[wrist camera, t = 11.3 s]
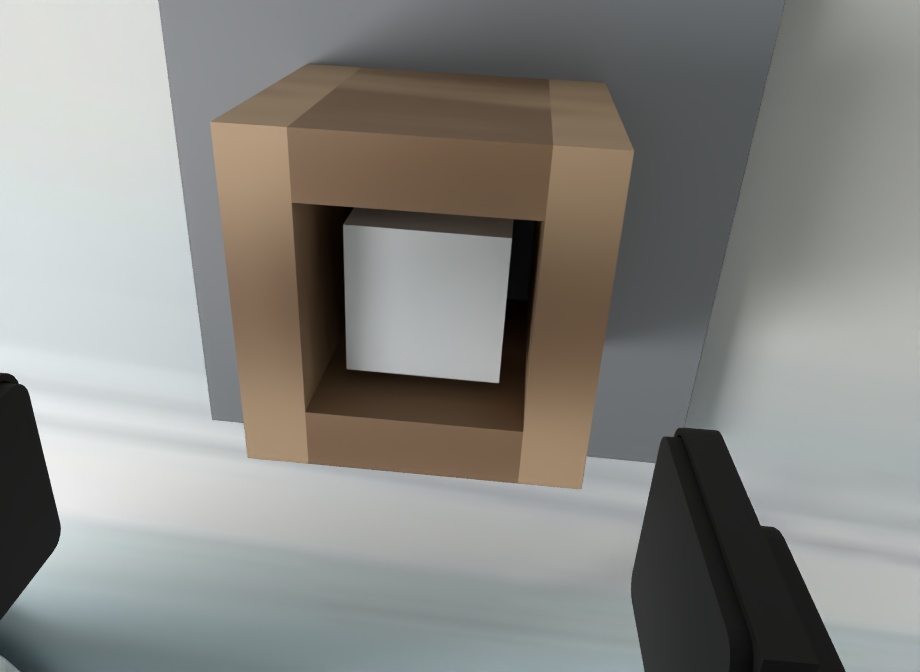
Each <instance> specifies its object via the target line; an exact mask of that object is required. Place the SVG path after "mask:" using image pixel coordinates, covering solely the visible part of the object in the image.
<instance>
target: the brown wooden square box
mask: <svg viewBox="0 0 920 672" xmlns="http://www.w3.org/2000/svg"><path fill="white" fill-rule="evenodd" d="M210 126H211V135H212V144H213V153H214V162H215V171H216V180H217V189H218V198H219V206H220V215H221V224H222V233H223V242H224V251H225V260H226V269H227V278H228V286H229V295H230V304H231V313H232V322H233V331H234V340H235V349H236V358H237V366H238V375H239V384H240V393H241V402H242V411H243V420H244V429H245V438H246V446H247V455H248V458H255V459H265V460H276V461H286V462H297V463H308V464H318V465H329V466H339V467H350V468H361V469H371V470H382V471H392V472H403V473H414V474H424V475H435V476H445V477H456V478H466V479H477V480H488V481H498V482H509V483H519V484H530V485H541V486H551V487H562V488H572V489H581V488H582V481H583V475H584V468H585V462H586V456H587V449H588V443H589V436H590V430H591V424H592V417H593V411H594V404H595V398H596V392H597V385H598V379H599V372H600V366H601V360H602V353H603V347H604V341H605V334H606V328H607V321H608V315H609V309H610V302H611V296H612V289H613V283H614V277H615V270H616V264H617V257H618V251H619V245H620V238H621V232H622V226H623V219H624V213H625V206H626V200H627V194H628V187H629V181H630V174H631V168H632V162H633V155H634V149H633V147H632V144H631V142H630V140H629V137H628V135H627V133H626V130H625V128H624V126H623V123H622V121H621V118H620V116H619V114H618V111H617V109H616V107H615V104H614V102H613V100H612V97H611V95H610V92H609V90H608V88H607V85H606V83H601V82H585V81H569V80H553V79H537V78H521V77H506V76H490V75H474V74H458V73H442V72H426V71H410V70H395V69H379V68H363V67H347V66H331V65H315V64H306V65H304V66H302V67H301V68H299V69H297V70H296V71H294V72H292V73H291V74H289V75H287V76H286V77H284V78H282V79H281V80H279V81H277V82H276V83H274V84H272V85H271V86H269V87H267V88H266V89H264V90H262V91H261V92H259V93H257V94H256V95H254V96H252V97H251V98H249V99H247V100H246V101H244V102H242V103H241V104H239V105H237V106H236V107H234V108H232V109H231V110H229V111H227V112H226V113H224V114H222V115H221V116H219V117H217V118H216V119H214V120H212V121H211V122H210ZM354 207H358V208H371V209H385V210H398V211H412V212H425V213H439V214H452V215H466V216H479V217H493V218H506V219H520V220H533V221H535V227H534V237H533V247H532V257H531V268H530V278H529V288H528V298H527V300H514V299H506V310H505V321H504V332H503V343H502V354H501V365H500V376H499V383H492V382H481V381H470V380H459V379H448V378H438V377H427V376H416V375H405V374H395V373H384V372H373V371H362V370H351V369H347V365H346V323H345V281H344V238H343V224H344V223H345V221H346V219H347V218H348V216H349V215H350V213H351V212H352V210H353V209H354Z"/></svg>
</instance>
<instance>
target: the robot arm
mask: <svg viewBox="0 0 920 672" xmlns="http://www.w3.org/2000/svg"><path fill="white" fill-rule="evenodd" d="M60 531H61V526H60V521H59V516H58V512H57V508H56V504H55V500H54V496H53V492H52V487H51V483H50V479H49V475H48V471H47V467H46V462H45V458H44V454H43V450H42V446H41V442H40V438H39V433H38V429H37V425H36V421H35V417H34V413H33V408H32V404H31V400H30V396H29V393H28V390H27V389H26V387H25V386H23V385H21V384H19V383H18V381H17V379H16V378H15V377H14V376H13V375H10V374H8V373H0V620H1V619H2V618H3V616H4V615H5V614H6V612H7V611H8V610H9V608H10V607H11V606H12V605H13V603H14V602H15V601H16V599H17V598H18V597H19V595H20V594H21V593H22V592H23V590H24V589H25V588H26V586H27V585H28V584H29V582H30V581H31V580H32V578H33V577H34V576H35V575H36V573H37V572H38V571H39V569H40V568H41V567H42V565H43V564H44V563H45V562H46V560H47V559H48V558H49V556H50V555H51V554H52V552H53V551H54V549H55V548H56V546H57V544H58V541H59V538H60ZM631 597H632V604H633V609H634V615H635V620H636V626H637V631H638V637H639V642H640V648H641V653H642V659H643V665H644V670H645V672H845V669H844V667H843V665H842V663H841V661H840V659H839V656H838V654H837V652H836V650H835V648H834V645H833V643H832V641H831V639H830V637H829V635H828V632H827V630H826V628H825V626H824V624H823V622H822V619H821V617H820V615H819V613H818V611H817V609H816V606H815V604H814V602H813V600H812V598H811V596H810V593H809V591H808V589H807V587H806V585H805V582H804V580H803V578H802V576H801V574H800V572H799V569H798V567H797V565H796V563H795V561H794V559H793V556H792V554H791V552H790V550H789V548H788V546H787V543H786V541H785V539H784V537H783V536H782V534H781V533H780V531H779V530H777V529H776V528H774V527H767V526H760V523H759V521H758V519H757V516H756V514H755V512H754V509H753V507H752V505H751V502H750V500H749V498H748V495H747V493H746V491H745V488H744V486H743V484H742V481H741V479H740V477H739V474H738V472H737V470H736V467H735V465H734V463H733V460H732V458H731V456H730V453H729V451H728V449H727V446H726V444H725V442H724V439H723V437H722V435H721V433H720V432H719V431H717V430H705V429H692V428H680V427H679V428H678V429H677V430H676V432H675V434H674V437H667V436H664V437H662V439H661V442H660V446H659V450H658V455H657V460H656V464H655V469H654V474H653V479H652V483H651V488H650V493H649V497H648V502H647V507H646V512H645V516H644V521H643V526H642V530H641V535H640V540H639V545H638V549H637V554H636V559H635V564H634V568H633V573H632V581H631ZM0 672H20V671H19V670H18V669H17V668H16V667H15V666H13V665H12V664H11V663H10V662H9V661H8V660H7V659H5V658H4V657H2V656H1V655H0Z"/></svg>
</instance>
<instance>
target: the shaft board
mask: <svg viewBox="0 0 920 672" xmlns="http://www.w3.org/2000/svg"><path fill="white" fill-rule="evenodd" d="M158 1H159V9H160V17H161V25H162V32H163V40H164V48H165V56H166V64H167V71H168V79H169V87H170V95H171V103H172V110H173V118H174V126H175V134H176V141H177V149H178V157H179V165H180V173H181V180H182V188H183V196H184V204H185V212H186V219H187V227H188V235H189V243H190V250H191V258H192V266H193V274H194V282H195V289H196V297H197V305H198V313H199V321H200V328H201V336H202V344H203V352H204V359H205V367H206V375H207V383H208V391H209V398H210V406H211V414H212V420H219V421H230V422H240V423H244V420H243V411H242V402H241V393H240V384H239V375H238V366H237V358H236V349H235V340H234V331H233V322H232V313H231V304H230V295H229V286H228V278H227V269H226V260H225V251H224V242H223V233H222V224H221V215H220V206H219V198H218V189H217V180H216V171H215V162H214V153H213V144H212V135H211V126H210V122H211V121H212V120H214V119H216V118H217V117H219V116H221V115H222V114H224V113H226V112H227V111H229V110H231V109H232V108H234V107H236V106H237V105H239V104H241V103H242V102H244V101H246V100H247V99H249V98H251V97H252V96H254V95H256V94H257V93H259V92H261V91H262V90H264V89H266V88H267V87H269V86H271V85H272V84H274V83H276V82H277V81H279V80H281V79H282V78H284V77H286V76H287V75H289V74H291V73H292V72H294V71H296V70H297V69H299V68H301V67H302V66H304V65H306V64H315V65H331V66H347V67H363V68H379V69H395V70H410V71H426V72H442V73H458V74H474V75H490V76H506V77H521V78H537V79H553V80H569V81H585V82H601V83H606V85H607V88H608V90H609V92H610V95H611V97H612V100H613V102H614V104H615V107H616V109H617V111H618V114H619V116H620V118H621V121H622V123H623V126H624V128H625V130H626V133H627V135H628V137H629V140H630V142H631V144H632V147H633V149H634V155H633V162H632V168H631V174H630V181H629V187H628V194H627V200H626V206H625V213H624V219H623V226H622V232H621V238H620V245H619V251H618V257H617V264H616V270H615V277H614V283H613V289H612V296H611V302H610V309H609V315H608V321H607V328H606V334H605V341H604V347H603V353H602V360H601V366H600V372H599V379H598V385H597V392H596V398H595V404H594V411H593V417H592V424H591V430H590V436H589V443H588V449H587V456H589V457H599V458H609V459H619V460H630V461H640V462H650V463H656V460H657V455H658V450H659V446H660V442H661V439H662V437H664V436H667V437H674V434H675V432H676V430H677V429H678V428H679V427H680V428H684V425H685V420H686V416H687V412H688V408H689V404H690V399H691V395H692V391H693V387H694V383H695V378H696V374H697V370H698V366H699V361H700V357H701V353H702V349H703V345H704V340H705V336H706V332H707V328H708V324H709V319H710V315H711V311H712V307H713V303H714V298H715V294H716V290H717V286H718V281H719V277H720V273H721V269H722V265H723V260H724V256H725V252H726V248H727V244H728V239H729V235H730V231H731V227H732V223H733V218H734V214H735V210H736V206H737V201H738V197H739V193H740V189H741V185H742V180H743V176H744V172H745V168H746V164H747V159H748V155H749V151H750V147H751V143H752V138H753V134H754V130H755V126H756V121H757V117H758V113H759V109H760V105H761V100H762V96H763V92H764V88H765V84H766V79H767V75H768V71H769V67H770V63H771V58H772V54H773V50H774V46H775V41H776V37H777V33H778V29H779V25H780V20H781V16H782V12H783V8H784V4H785V0H158ZM534 227H535V221H533V220H520V219H506V218H493V217H479V216H466V215H452V214H439V213H425V212H412V211H398V210H385V209H371V208H358V207H354V209H353V210H352V212H351V213H350V215H349V216H348V218H347V219H346V221H345V223H344V224H343V238H344V281H345V323H346V365H347V369H351V370H362V371H373V372H384V373H395V374H405V375H416V376H427V377H438V378H448V379H459V380H470V381H481V382H492V383H499V376H500V365H501V354H502V343H503V332H504V321H505V310H506V299H514V300H527V298H528V288H529V278H530V268H531V257H532V247H533V237H534Z"/></svg>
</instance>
